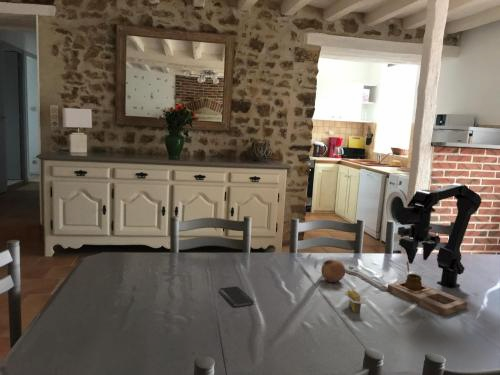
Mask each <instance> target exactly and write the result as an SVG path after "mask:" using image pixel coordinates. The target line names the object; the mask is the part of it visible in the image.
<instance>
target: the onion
mask: <svg viewBox="0 0 500 375" xmlns="http://www.w3.org/2000/svg"><path fill="white" fill-rule="evenodd" d="M321 275H322V277H323V279H324V280H325V281H326V282H329V283H335V282H336V283H337V282H341V281H342V280H343V278H344V276H345V275H346V272H345V265H344V264H343V262H341V261H340V260H336V259H328V260H325V261H324V262H323V264H322V265H321Z"/></svg>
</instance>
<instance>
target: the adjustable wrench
mask: <svg viewBox="0 0 500 375" xmlns="http://www.w3.org/2000/svg"><path fill="white" fill-rule="evenodd" d="M344 267H345V266H344ZM345 273H347V274H349V275H355V276H357V277H358V278H361V279H362V280H364V281H365V282H367V283H369V284H370V285H373V286H374V287H376V288H377V289H380V290H381V291H387V289H388V285H384V284H382V282H379V281H377V280H376V279H374V278H372V277H370V276H368V275H367V274H364V273H363V272H362V271H360V269H359V267H357V266H353V265H349V266H348V267H345Z"/></svg>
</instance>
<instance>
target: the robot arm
mask: <svg viewBox="0 0 500 375" xmlns="http://www.w3.org/2000/svg"><path fill="white" fill-rule="evenodd" d="M453 197H454V199H455V200H456V208H457V213H456V217H455V220H454V223H453V226H452V229H451V231H450V235H449V238H448V241H447V243H446V244H445V246H443V247H441V246H440V248H439V250H438V253H437V255H436V261H437V266H438V268H439V269H441V270H442V272H441V278H440V280H439V281H437V282H436V283H437V284H439V285H442V286H444V287H447V288H449V289H453V288H456V287H457V288H458V287H460V286H461V284H459V283H457V282H458V277H459V276H458V275H462V274H464V273H465V272H464V271H465V269H466V268H465V266H464V265H463V263H462V262H461V261H462V253H461V246H462V243H463V241H464V238H465V234H466V231H467V229H468V226H469V222H470V221H471V217H472V215H474V214H475V213H476V212H477V211H479V208H480V206H481V204H482V201H483V200H482V198H481V196H480V195H479V194H478V193H477V192H475V191H474V190H472V189H470V188H469V187H468V186H467V185H466V184H464V183H458V182H454V183H452V184H449V185H446V186H441V187H439V188H435V189H417V190H416V191H415V193H414V194H413V196H412V198H411V199H410V201H408V204H407V206H402V207H401V208H402V209H400V210H399V211H398V213H397V218H396V219H397V221H398V223H399V224H400V225H402V226H399V227H398V228H397V231H396V232H397V234H398V236H400V239H399V240H398V246H400V247H401V248H403V249H404V250H405V253H406V258H407V260H408V264H409V265H412V264H413V263H414V261H415V257H416V256H417V253H418V251H419V248H418V247H419V244H422V251H423V252H422V259H423V261H427V260H428V258H430V257H429V256H430V255H432V253H433V251H434V250H435V248H436V247H437V246H438V245H439V244H441V237H440V235H437V234H433V233H430V230H432V229H433V226H431V218H432V213H436V210H437V209H435V208H434V207H435V206H436V205H437V204H438V203H439V202H440V201H442V200H446V199H449V198H453ZM406 225H407V226H410V227H407V228H406V227H405V226H406Z"/></svg>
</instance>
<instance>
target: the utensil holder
mask: <svg viewBox="0 0 500 375" xmlns="http://www.w3.org/2000/svg"><path fill="white" fill-rule="evenodd" d="M409 265H410V264H409V261H406V267H407V268H406V269H407V271H408V273H407V276H406V279H405V280H406V282H405V288H408V289H410V290H413V291H419V290H421V287H422V284H423V283H422V275H423V272H421V270H424V269H423V267H421V266H420V267H419V268H417V270H416V272H415V274H414V273H410V266H409ZM419 269H421V270H419ZM420 273H421V274H420Z"/></svg>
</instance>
